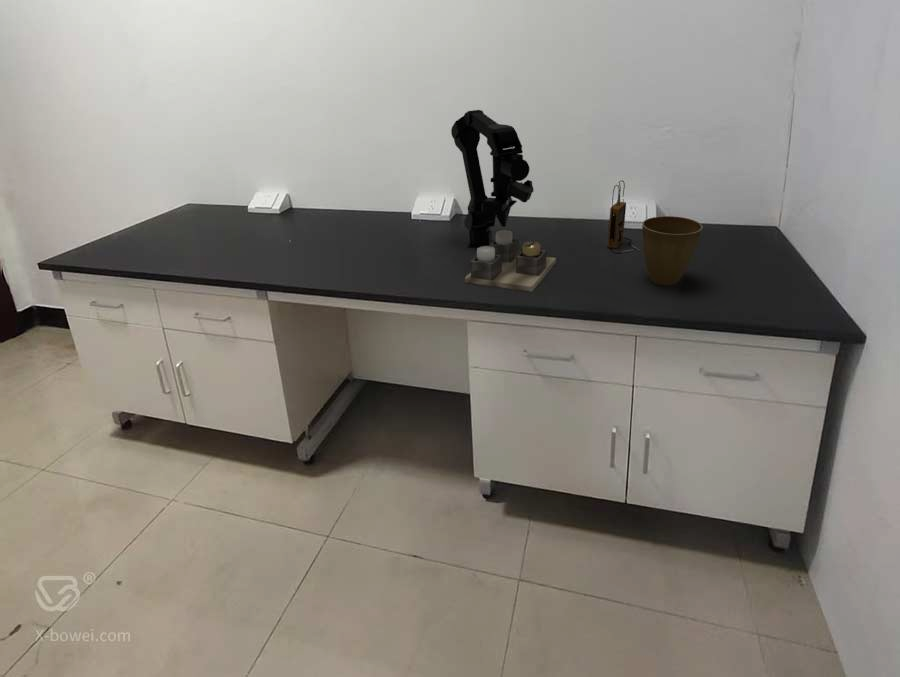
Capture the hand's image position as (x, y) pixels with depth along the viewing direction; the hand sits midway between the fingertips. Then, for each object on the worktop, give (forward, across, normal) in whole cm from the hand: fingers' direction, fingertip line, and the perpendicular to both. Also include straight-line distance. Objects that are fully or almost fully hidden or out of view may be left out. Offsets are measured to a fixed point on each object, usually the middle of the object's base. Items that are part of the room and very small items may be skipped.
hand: (503, 226), depth 177 cm
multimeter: (+12, +24, -32) cm, 41 cm away
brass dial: (+7, -7, -11) cm, 15 cm away
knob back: (+7, 0, 0) cm, 7 cm away
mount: (+11, -7, -5) cm, 14 cm away
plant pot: (+11, 0, -47) cm, 48 cm away
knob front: (+7, -14, 0) cm, 16 cm away
